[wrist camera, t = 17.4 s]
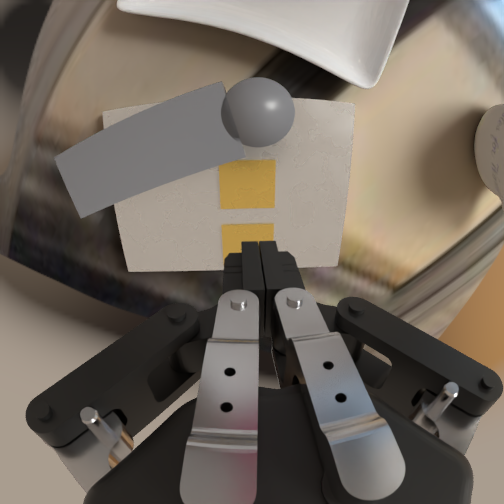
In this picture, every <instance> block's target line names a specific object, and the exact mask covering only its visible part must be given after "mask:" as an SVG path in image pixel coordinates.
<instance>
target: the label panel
mask: <svg viewBox="0 0 504 504" xmlns="http://www.w3.org/2000/svg"><path fill="white" fill-rule="evenodd" d="M292 100H293V103H294V107H295V118H294V122H293V125H292V127H291V129H290V131H289V132H288V133H287V135H286V136H285V137H284V138H283V139H281V140H280V141H278V142H277V143H275V144H273V145H270V146H266V147H250V146H246V145H243V146H244V149H245V155H246V157H245V158H242V159H239V160H235V161H232V162H229V163H226V164H222V165H219V166H216V167H213V168H210V169H207V170H204V171H201V172H198V173H195V174H192V175H189V176H186V177H183V178H180V179H178V180H175V181H172V182H169V183H167V184H164V185H161V186H159V187H156V188H153V189H151V190H148V191H145V192H143V193H140V194H138V195H135V196H133V197H130V198H128V199H125V200H123V201H120V202H118V203H116V204H114V207H115V212H116V218H117V223H118V228H119V232H120V237H121V242H122V246H123V251H124V255H125V259H126V263H127V267H128V271H129V272H144V271H201V270H224V259H225V258H226V257H227V255H228V254H229V253H241V241H258V246H259V241H276V244H277V248H278V251H288V252H289V253H290V254H291V255H293V256H294V257H295V260H296V263H297V266H298V268H303V267H328V266H337V265H338V259H339V253H340V246H341V240H342V233H343V226H344V219H345V212H346V204H347V196H348V187H349V178H350V168H351V157H352V145H353V132H354V115H355V104H354V103H346V102H337V101H327V100H316V99H302V98H292ZM160 103H162V102H160ZM160 103H152V104H144V105H138V106H131V107H125V108H119V109H114V110H108V111H103V125H104V129H105V128H107V127H109V126H111V125H113V124H115V123H117V122H119V121H122V120H124V119H126V118H128V117H130V116H132V115H134V114H137V113H139V112H141V111H143V110H146V109H148V108H150V107H153V106H155V105H157V104H160Z"/></svg>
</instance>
